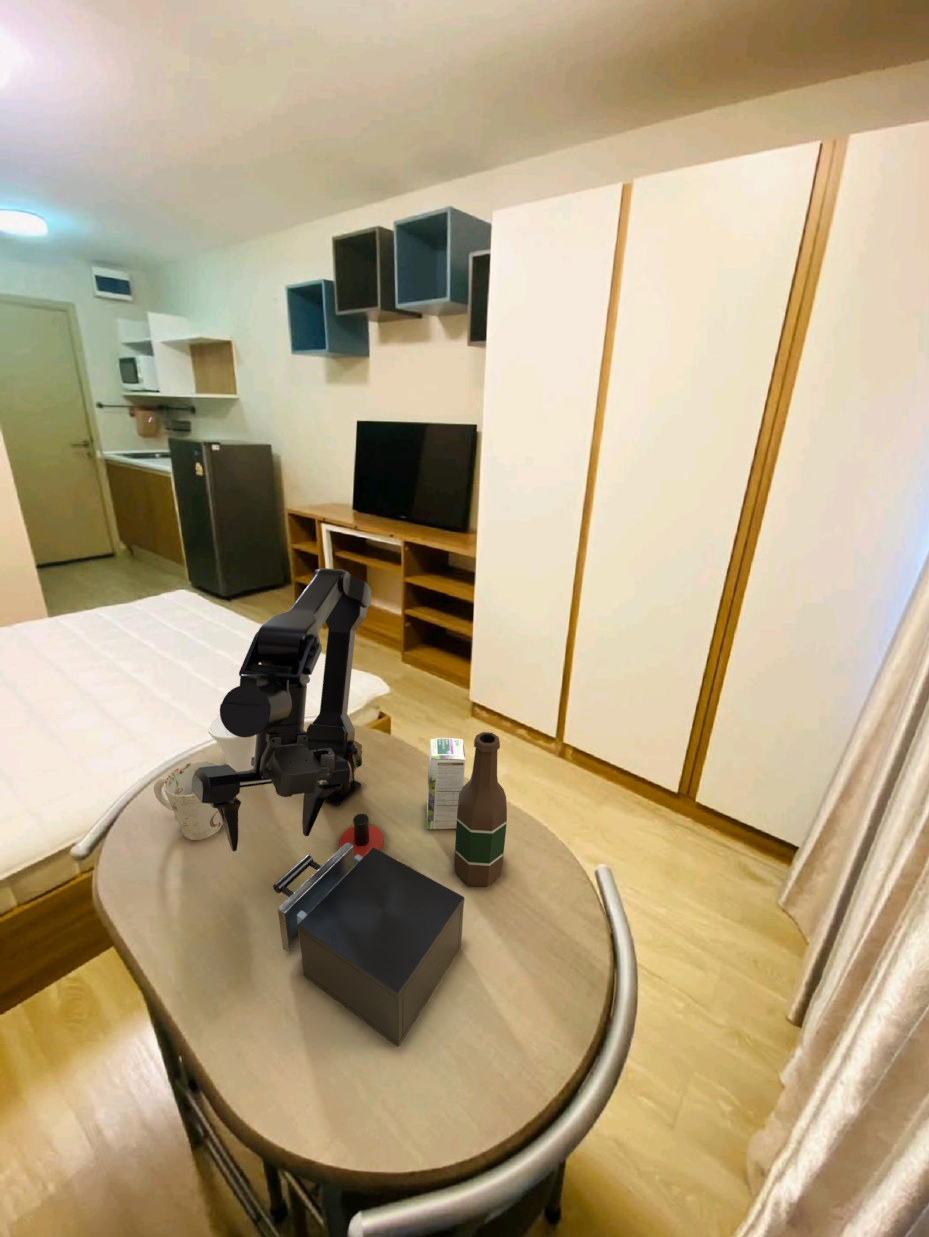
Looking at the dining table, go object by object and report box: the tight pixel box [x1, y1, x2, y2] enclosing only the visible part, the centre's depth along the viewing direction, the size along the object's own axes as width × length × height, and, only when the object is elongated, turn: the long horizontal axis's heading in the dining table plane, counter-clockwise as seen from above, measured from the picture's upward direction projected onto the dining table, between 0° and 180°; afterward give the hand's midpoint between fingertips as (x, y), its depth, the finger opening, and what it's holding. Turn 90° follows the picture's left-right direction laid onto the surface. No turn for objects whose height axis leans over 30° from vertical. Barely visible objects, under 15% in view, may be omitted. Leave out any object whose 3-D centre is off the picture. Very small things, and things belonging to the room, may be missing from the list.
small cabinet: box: [298, 847, 465, 1048], centre depth 64 cm, size 15×14×9 cm
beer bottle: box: [454, 731, 508, 887], centre depth 75 cm, size 8×8×24 cm
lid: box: [339, 813, 385, 857], centre depth 82 cm, size 7×7×5 cm
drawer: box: [272, 842, 363, 954], centre depth 68 cm, size 18×12×7 cm
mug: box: [153, 760, 224, 841], centre depth 84 cm, size 8×13×10 cm, turn 78°
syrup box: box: [426, 737, 466, 830], centre depth 87 cm, size 6×6×14 cm
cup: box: [207, 713, 256, 772], centre depth 98 cm, size 9×9×10 cm
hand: (271, 842), depth 67 cm, fingers open, 9 cm apart
